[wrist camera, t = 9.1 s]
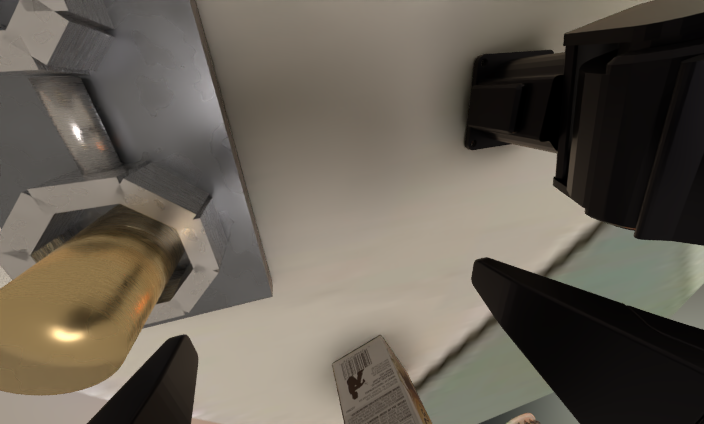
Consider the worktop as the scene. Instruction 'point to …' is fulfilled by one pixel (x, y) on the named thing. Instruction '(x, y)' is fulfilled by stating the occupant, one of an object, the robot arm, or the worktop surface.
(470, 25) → the worktop surface
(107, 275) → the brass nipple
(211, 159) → the manifold
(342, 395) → the coffee box
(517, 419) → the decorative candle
